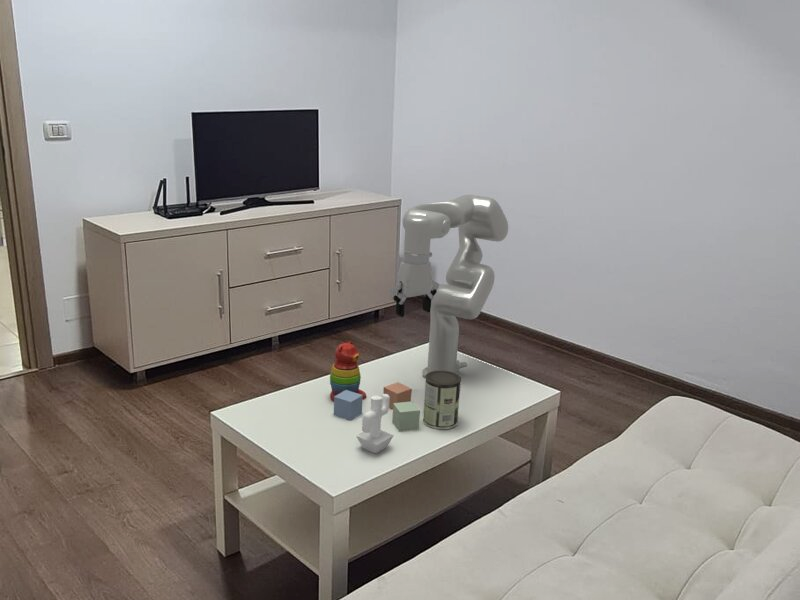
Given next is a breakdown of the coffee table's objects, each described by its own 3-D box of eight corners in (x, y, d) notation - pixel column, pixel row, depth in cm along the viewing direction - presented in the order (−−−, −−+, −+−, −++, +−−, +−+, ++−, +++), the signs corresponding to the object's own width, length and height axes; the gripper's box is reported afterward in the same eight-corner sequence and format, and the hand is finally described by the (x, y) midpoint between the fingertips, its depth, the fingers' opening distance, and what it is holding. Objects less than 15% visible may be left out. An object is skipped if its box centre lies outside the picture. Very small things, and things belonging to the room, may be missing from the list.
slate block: (345, 408, 222) (345, 389, 221) (361, 413, 220) (362, 395, 218) (333, 415, 217) (334, 396, 216) (350, 421, 215) (351, 402, 213)
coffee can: (439, 410, 224) (442, 367, 220) (464, 423, 217) (468, 378, 213) (415, 420, 217) (417, 375, 213) (440, 433, 210) (444, 387, 206)
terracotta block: (396, 399, 230) (397, 382, 228) (410, 406, 226) (411, 388, 224) (382, 405, 226) (383, 387, 224) (396, 412, 222) (397, 393, 220)
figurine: (352, 449, 199) (354, 398, 194) (375, 437, 206) (377, 387, 201) (373, 458, 194) (376, 406, 190) (395, 445, 202) (398, 395, 197)
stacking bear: (346, 408, 222) (348, 353, 217) (321, 398, 228) (322, 344, 222) (369, 397, 230) (371, 343, 225) (344, 387, 236) (346, 335, 231)
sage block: (411, 419, 217) (412, 401, 215) (418, 429, 212) (420, 410, 210) (392, 422, 215) (393, 403, 213) (399, 431, 210) (400, 412, 208)
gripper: (432, 252, 224) (429, 305, 230) (384, 257, 215) (382, 313, 220) (447, 257, 218) (444, 313, 224) (398, 264, 209) (395, 321, 214)
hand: (413, 313), depth 222 cm, fingers open, 9 cm apart
